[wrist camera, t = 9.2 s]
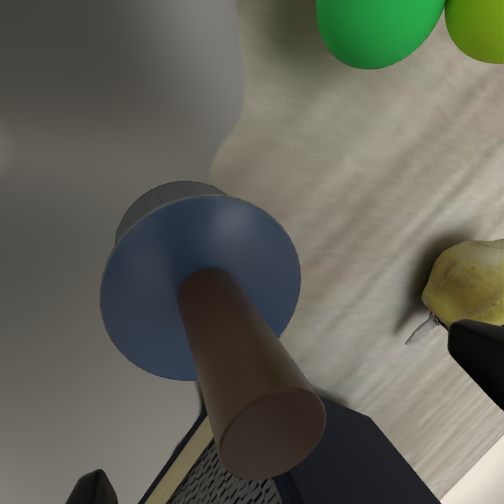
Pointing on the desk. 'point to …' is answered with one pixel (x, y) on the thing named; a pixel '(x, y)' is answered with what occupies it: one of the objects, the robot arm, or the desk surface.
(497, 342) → the robot arm
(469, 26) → the molecule model
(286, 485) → the speaker
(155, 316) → the lid
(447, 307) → the fruit
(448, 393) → the desk surface
